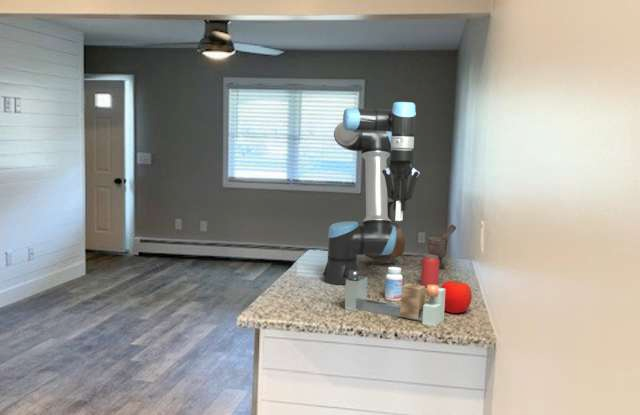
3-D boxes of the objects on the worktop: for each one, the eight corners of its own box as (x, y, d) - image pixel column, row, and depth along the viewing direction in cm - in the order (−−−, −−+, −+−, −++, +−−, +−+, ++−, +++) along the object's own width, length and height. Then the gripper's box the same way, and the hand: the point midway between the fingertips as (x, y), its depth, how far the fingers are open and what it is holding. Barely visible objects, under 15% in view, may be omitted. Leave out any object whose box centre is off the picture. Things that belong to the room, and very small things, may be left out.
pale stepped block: (422, 324, 185) (424, 292, 184) (431, 317, 192) (433, 286, 191) (434, 326, 183) (436, 294, 182) (443, 319, 190) (445, 288, 189)
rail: (344, 309, 198) (346, 270, 197) (355, 304, 205) (356, 266, 204) (422, 323, 185) (424, 282, 184) (431, 317, 192) (433, 277, 191)
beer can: (438, 288, 231) (439, 257, 230) (420, 287, 232) (422, 256, 231) (438, 284, 238) (439, 254, 236) (421, 283, 239) (422, 253, 237)
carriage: (400, 316, 190) (401, 286, 189) (406, 312, 195) (407, 283, 194) (418, 319, 187) (419, 289, 186) (424, 315, 192) (425, 286, 191)
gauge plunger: (424, 301, 184) (425, 286, 184) (428, 299, 187) (429, 283, 187) (435, 303, 183) (436, 287, 182) (439, 301, 186) (440, 285, 185)
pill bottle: (397, 302, 209) (398, 270, 208) (381, 299, 213) (383, 268, 211) (404, 298, 214) (406, 267, 213) (389, 296, 218) (390, 265, 216)
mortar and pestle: (451, 266, 275) (453, 222, 273) (454, 270, 266) (457, 225, 264) (425, 264, 276) (428, 221, 273) (428, 268, 267) (430, 224, 265)
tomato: (441, 306, 207) (442, 275, 205) (472, 310, 203) (474, 278, 201) (434, 313, 197) (436, 281, 196) (467, 318, 193) (469, 285, 192)
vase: (368, 257, 288) (370, 195, 285) (408, 261, 281) (411, 197, 278) (354, 266, 266) (357, 199, 263) (397, 271, 260) (400, 202, 257)
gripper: (379, 148, 199) (376, 219, 201) (416, 150, 192) (413, 223, 195) (388, 148, 205) (385, 217, 208) (424, 150, 199) (421, 221, 201)
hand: (398, 220), depth 201 cm, fingers closed
